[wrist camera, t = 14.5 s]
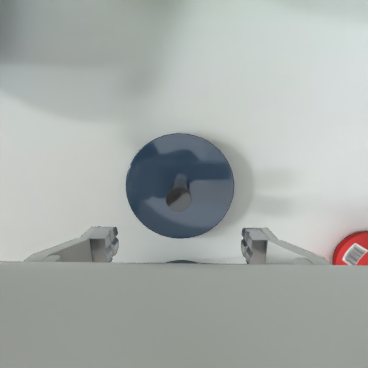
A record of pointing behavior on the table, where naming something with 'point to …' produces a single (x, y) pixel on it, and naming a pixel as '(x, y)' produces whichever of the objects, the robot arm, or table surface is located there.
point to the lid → (179, 185)
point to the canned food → (352, 250)
